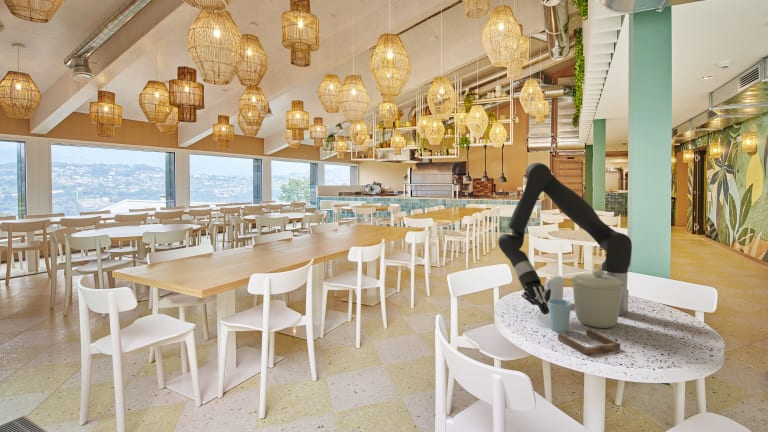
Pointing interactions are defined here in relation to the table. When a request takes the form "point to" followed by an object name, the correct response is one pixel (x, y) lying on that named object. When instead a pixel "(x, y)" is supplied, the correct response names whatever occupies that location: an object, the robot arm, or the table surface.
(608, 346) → the walnut bay
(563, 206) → the robot arm
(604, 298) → the canister
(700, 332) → the table surface
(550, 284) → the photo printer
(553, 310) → the cup
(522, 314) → the table surface
